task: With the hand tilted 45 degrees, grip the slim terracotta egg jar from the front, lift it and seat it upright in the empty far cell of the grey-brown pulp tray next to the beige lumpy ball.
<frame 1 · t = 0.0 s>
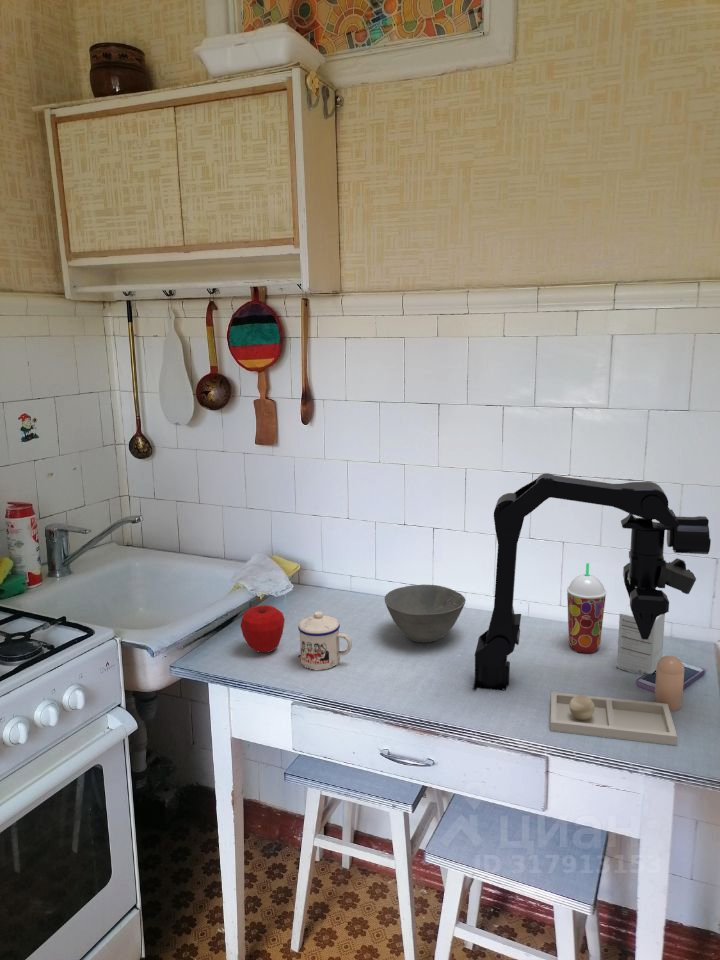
hand: (642, 628, 137), 15 cm above the table, tool pointing down, fingers open, 9 cm apart
teacup with lid: (326, 663, 159), on the table
bowl: (425, 638, 170), on the table
pulp tray: (609, 724, 132), on the table
supplement box: (639, 667, 153), on the table
apple: (264, 650, 166), on the table
smoothie: (584, 648, 163), on the table
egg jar: (667, 707, 137), on the table
beige lumpy ball: (581, 718, 133), point 1 cm above the table, touching pulp tray
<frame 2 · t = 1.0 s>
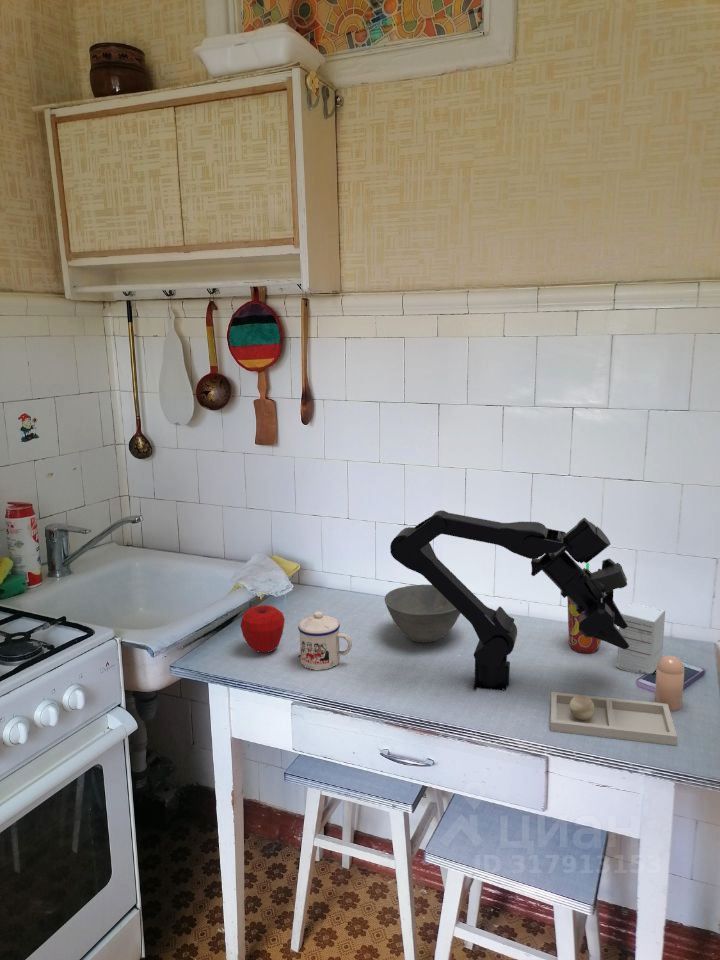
hand: (626, 637, 137), 13 cm above the table, tool tilted 45°, fingers open, 9 cm apart
nothing on the table moved.
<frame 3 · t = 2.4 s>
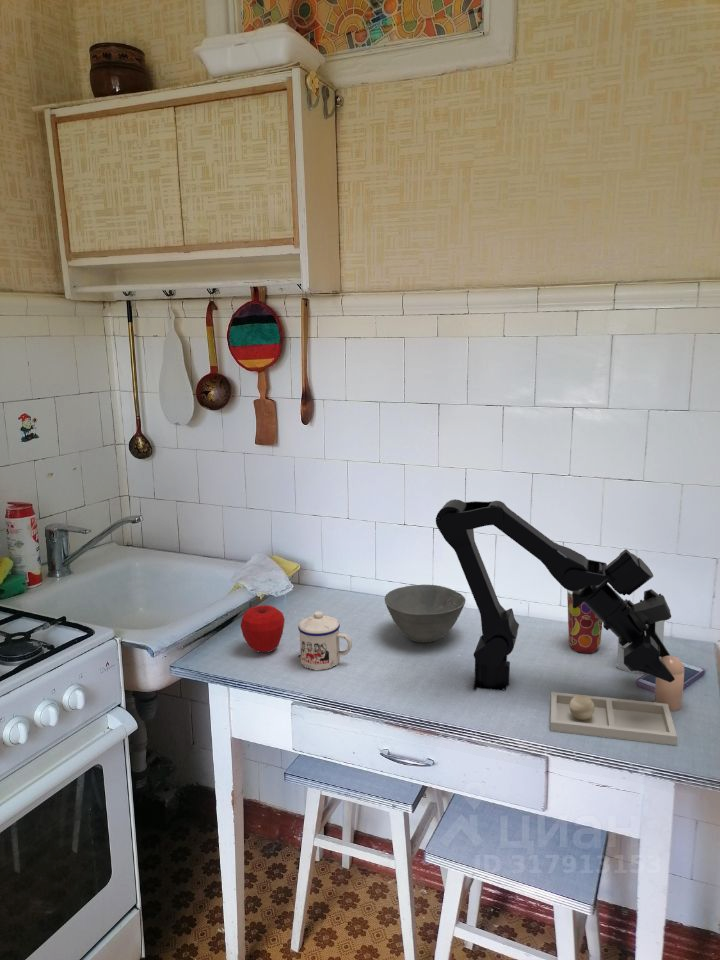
hand: (670, 669, 135), 8 cm above the table, tool tilted 45°, fingers open, 9 cm apart
nothing on the table moved.
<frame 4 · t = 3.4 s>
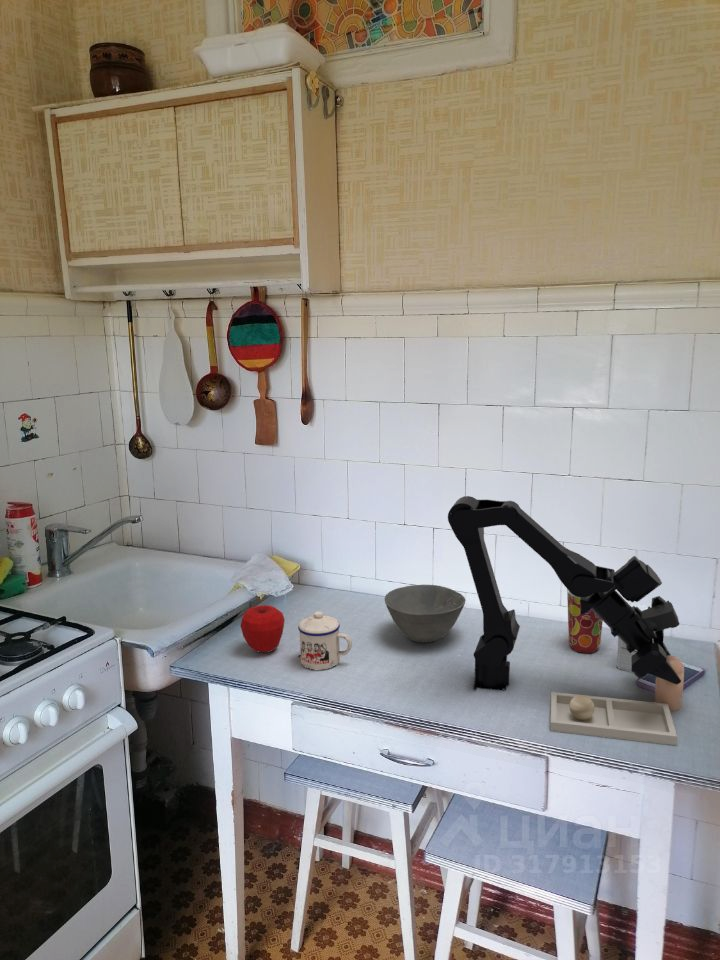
hand: (678, 676, 135), 7 cm above the table, tool tilted 45°, fingers closed on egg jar, 5 cm apart
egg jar: (667, 707, 137), on the table, touching gripper
everything else where it was.
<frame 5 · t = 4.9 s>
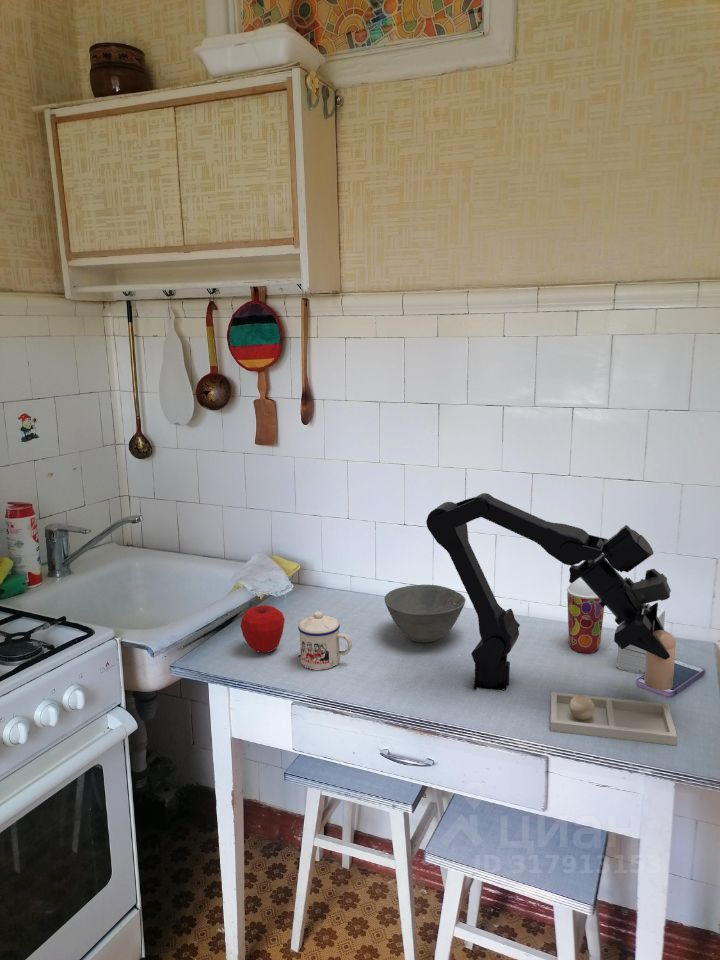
hand: (669, 652, 131), 13 cm above the table, tool tilted 45°, fingers closed on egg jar, 5 cm apart
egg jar: (658, 683, 133), point 7 cm above the table, touching gripper
everything else where it was.
when the fingers open (8 cm above the table, at t = 6.6 s): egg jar drops 1 cm, resting on pulp tray.
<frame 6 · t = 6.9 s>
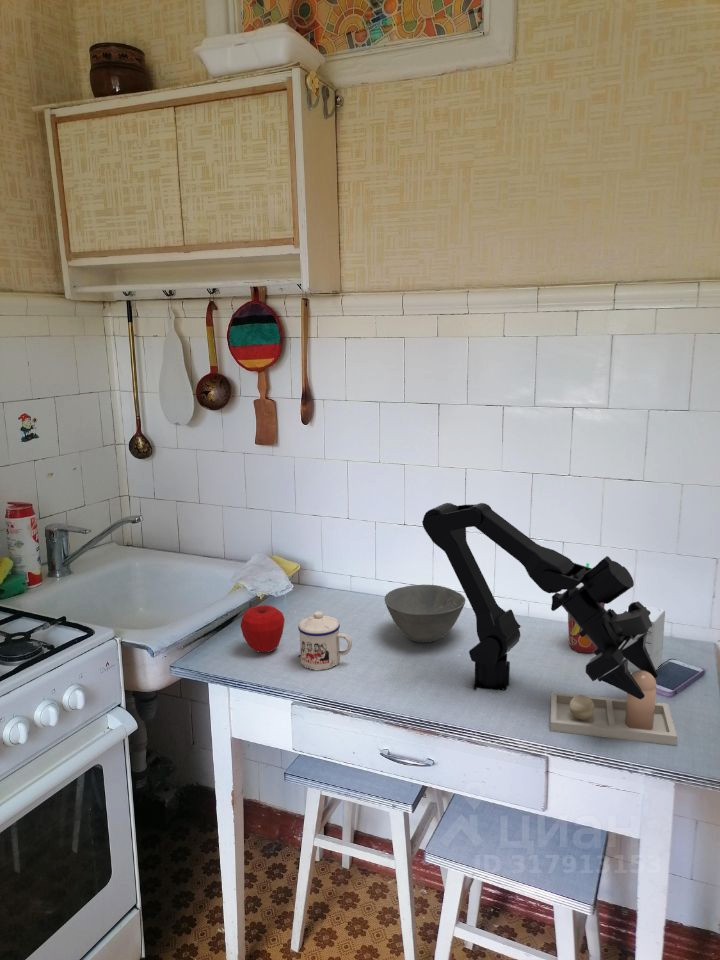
hand: (649, 687, 128), 8 cm above the table, tool tilted 45°, fingers open, 8 cm apart
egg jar: (638, 724, 131), point 1 cm above the table, touching pulp tray
everything else where it was.
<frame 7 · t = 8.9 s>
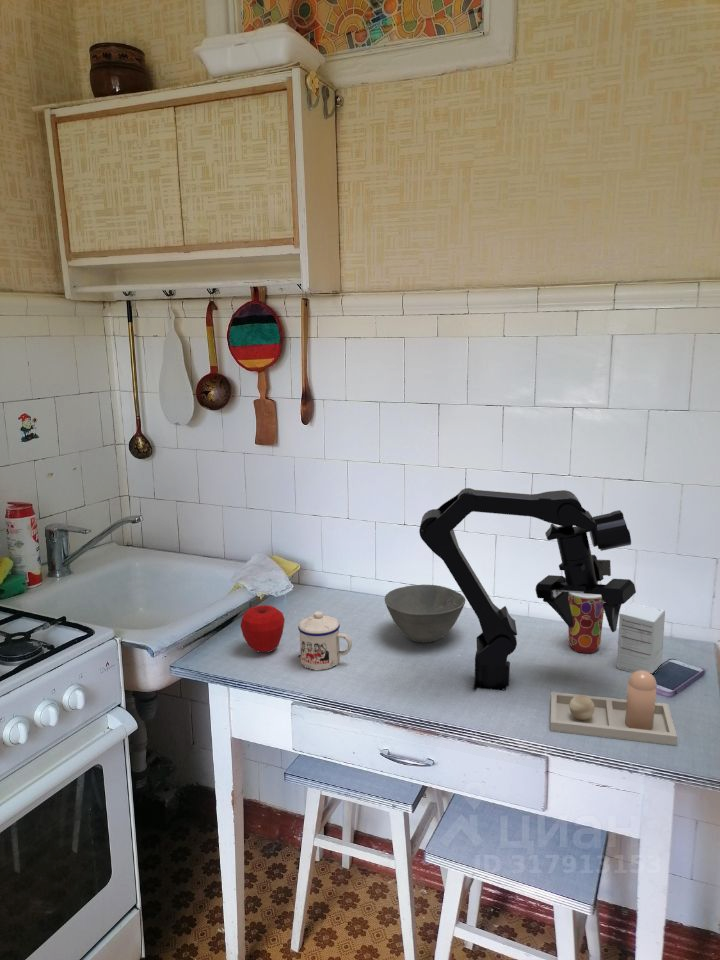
hand: (592, 628, 142), 13 cm above the table, tool pointing down, fingers open, 9 cm apart
nothing on the table moved.
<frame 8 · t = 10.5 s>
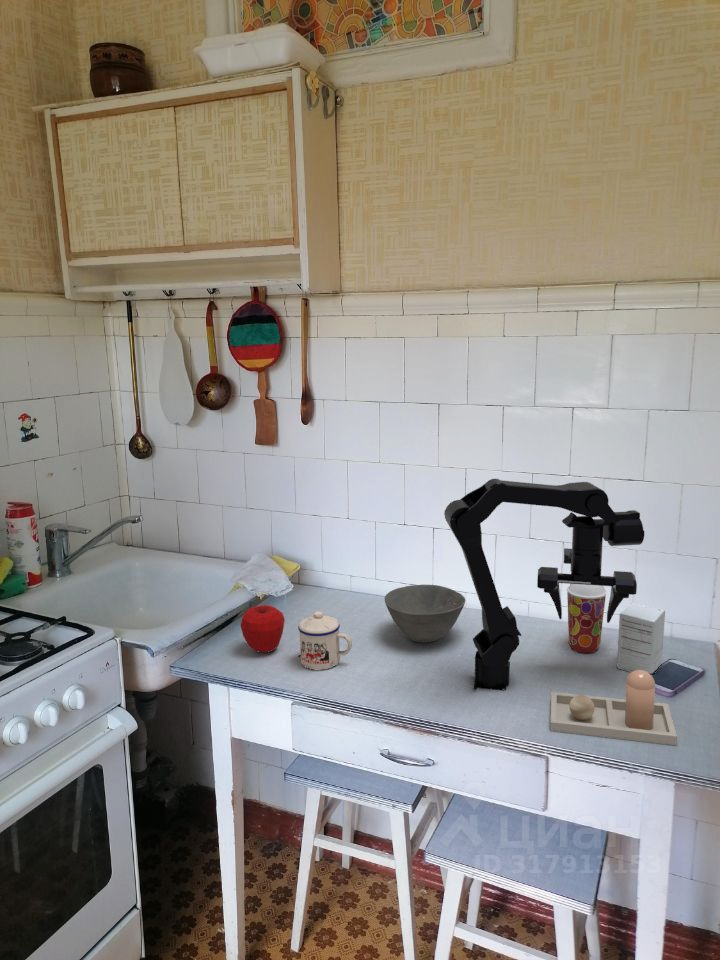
hand: (584, 620, 146), 13 cm above the table, tool pointing down, fingers open, 9 cm apart
nothing on the table moved.
at the end: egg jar inside the target area on the pulp tray (0.3 cm from its centre), point 0.6 cm above the pulp tray's base; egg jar tilted 1°; the gripper is holding nothing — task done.
